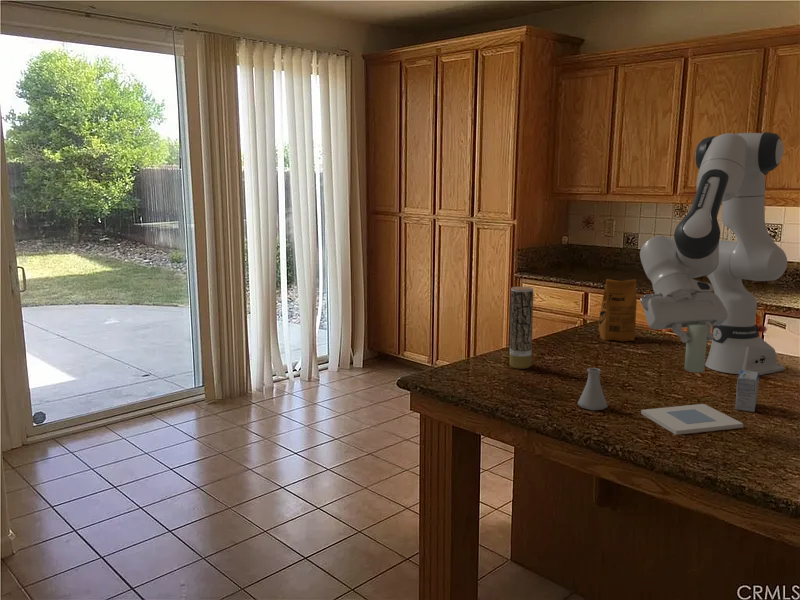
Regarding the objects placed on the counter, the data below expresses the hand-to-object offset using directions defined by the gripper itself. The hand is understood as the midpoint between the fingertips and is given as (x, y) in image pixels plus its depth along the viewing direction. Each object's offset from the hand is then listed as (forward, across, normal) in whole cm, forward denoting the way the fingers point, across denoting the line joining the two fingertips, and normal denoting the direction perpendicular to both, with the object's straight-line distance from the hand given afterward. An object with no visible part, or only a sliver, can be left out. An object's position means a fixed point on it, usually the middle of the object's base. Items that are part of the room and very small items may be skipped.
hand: (698, 340), depth 154 cm
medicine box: (+11, +20, +18) cm, 29 cm away
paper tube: (-23, -22, +52) cm, 61 cm away
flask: (+4, -18, +26) cm, 31 cm away
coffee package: (-40, +26, +69) cm, 84 cm away
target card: (+14, 0, +15) cm, 20 cm away
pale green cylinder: (+5, 0, +6) cm, 7 cm away
